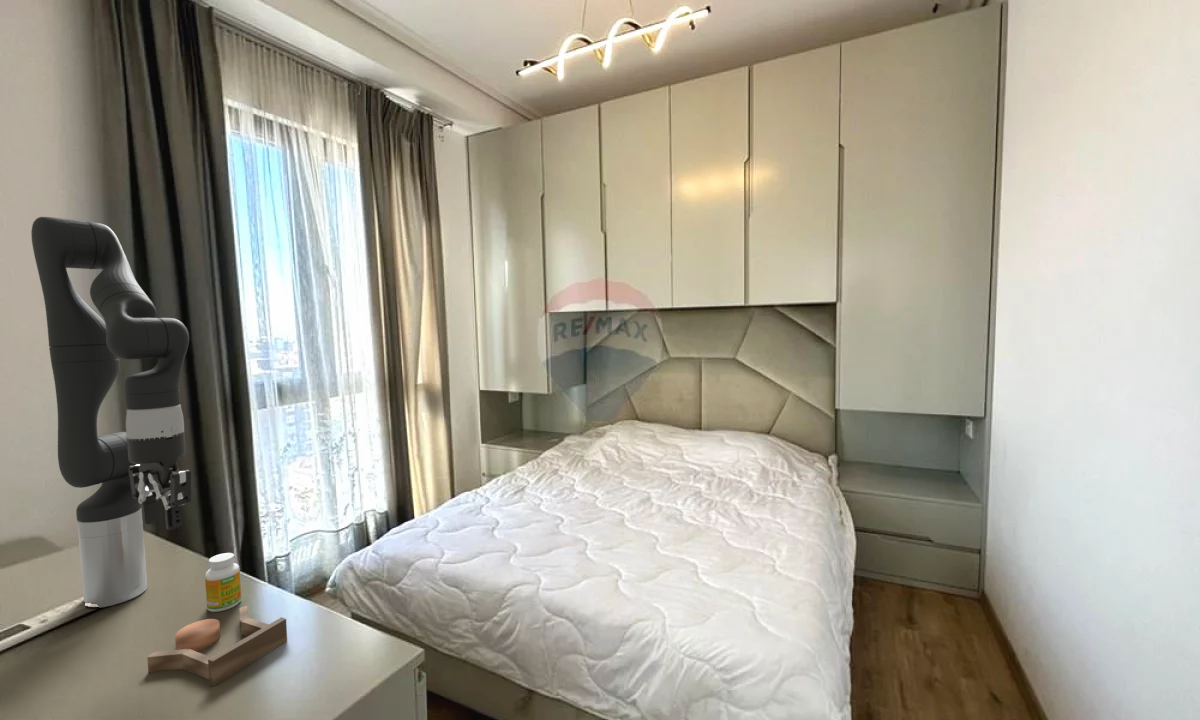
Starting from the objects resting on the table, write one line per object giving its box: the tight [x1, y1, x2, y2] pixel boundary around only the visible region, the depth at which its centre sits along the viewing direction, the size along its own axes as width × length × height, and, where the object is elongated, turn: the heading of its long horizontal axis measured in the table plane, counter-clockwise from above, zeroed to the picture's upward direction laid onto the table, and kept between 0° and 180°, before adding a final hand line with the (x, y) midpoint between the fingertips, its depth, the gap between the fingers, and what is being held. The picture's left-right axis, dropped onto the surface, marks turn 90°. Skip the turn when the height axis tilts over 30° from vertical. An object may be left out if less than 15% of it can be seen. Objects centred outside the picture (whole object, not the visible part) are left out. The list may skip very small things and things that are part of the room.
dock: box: [146, 605, 288, 687], centre depth 83 cm, size 14×15×4 cm
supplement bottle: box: [204, 552, 242, 613], centre depth 97 cm, size 5×5×10 cm
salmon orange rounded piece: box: [174, 618, 221, 652], centre depth 86 cm, size 6×6×2 cm
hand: (163, 525), depth 87 cm, fingers open, 6 cm apart
